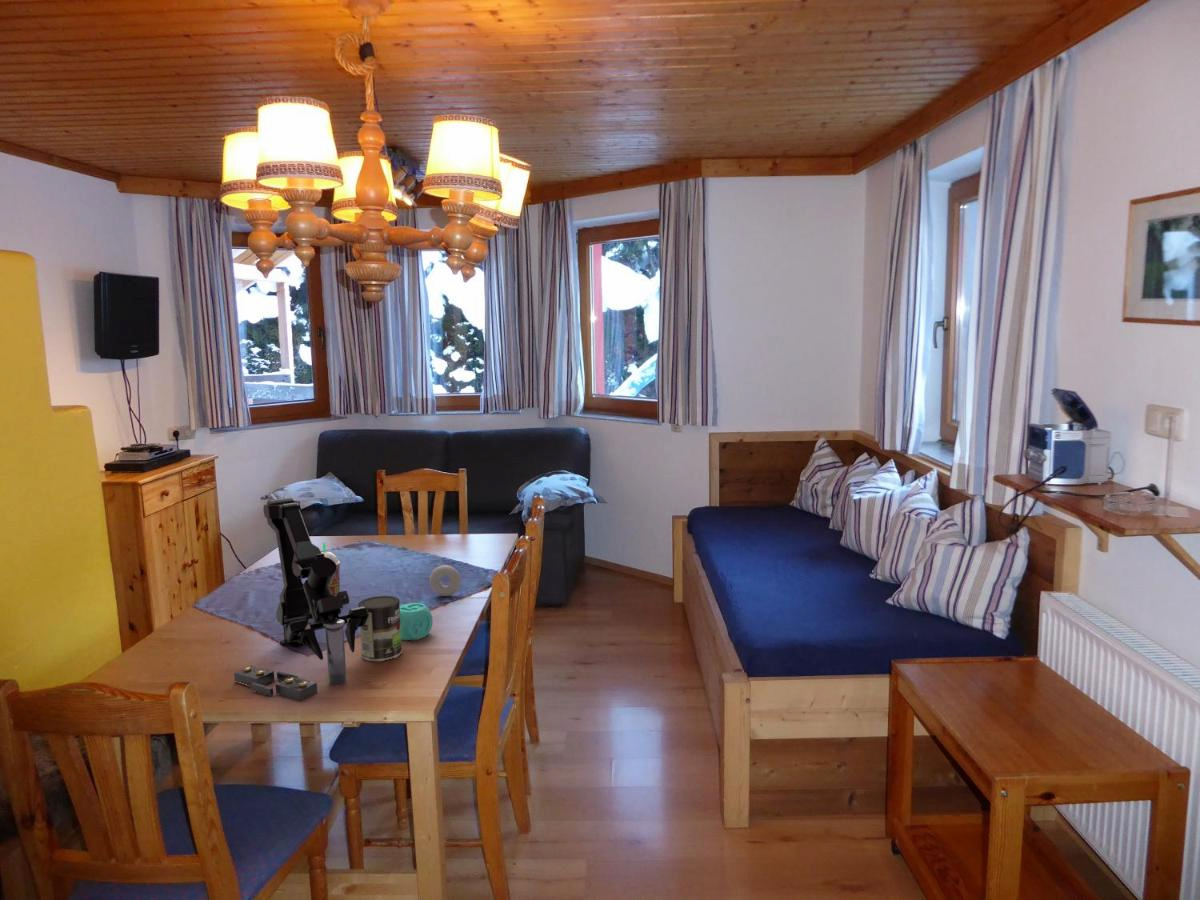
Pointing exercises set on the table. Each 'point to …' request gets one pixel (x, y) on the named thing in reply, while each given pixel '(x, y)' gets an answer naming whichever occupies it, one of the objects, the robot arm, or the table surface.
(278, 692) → the riveted post bracket
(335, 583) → the smoothie
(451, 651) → the table surface
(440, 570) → the donut
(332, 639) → the link pin
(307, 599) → the robot arm
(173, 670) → the table surface
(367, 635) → the coffee can
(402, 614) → the teal rolled towel
